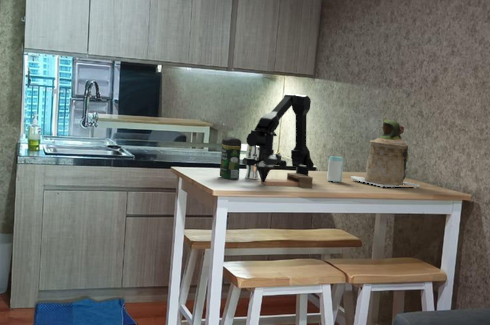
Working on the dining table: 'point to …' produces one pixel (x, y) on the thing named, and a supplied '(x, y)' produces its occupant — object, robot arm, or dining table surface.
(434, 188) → the dining table surface
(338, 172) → the white teal canister
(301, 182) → the brown rectangular block
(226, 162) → the coffee jar
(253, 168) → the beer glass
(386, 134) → the cookie jar
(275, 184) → the tile
